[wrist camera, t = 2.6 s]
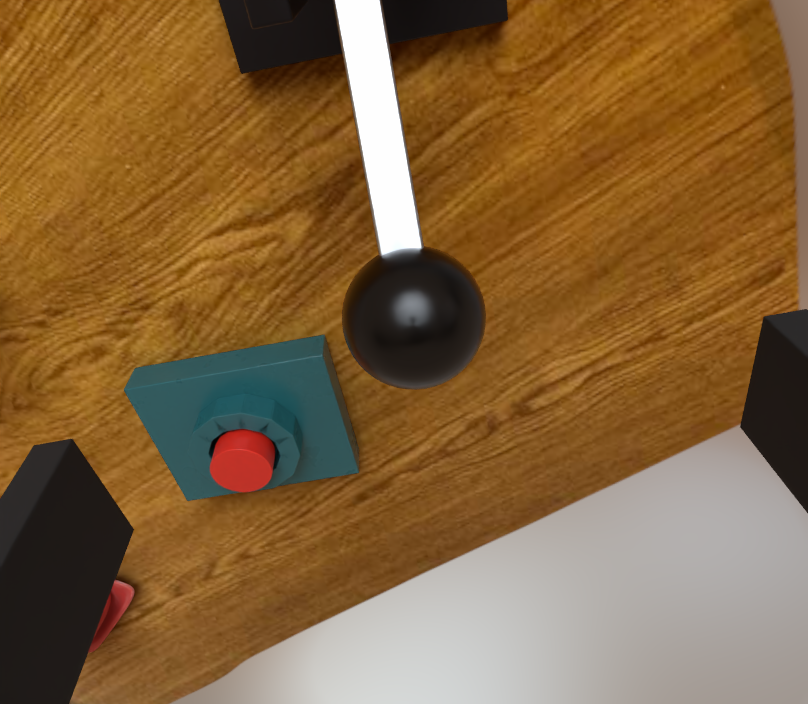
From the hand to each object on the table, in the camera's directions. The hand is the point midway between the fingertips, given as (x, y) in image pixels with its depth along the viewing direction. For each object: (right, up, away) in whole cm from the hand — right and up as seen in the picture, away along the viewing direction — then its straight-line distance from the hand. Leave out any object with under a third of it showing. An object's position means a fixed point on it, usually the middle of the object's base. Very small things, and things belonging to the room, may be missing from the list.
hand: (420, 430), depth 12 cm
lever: (-1, +7, +4) cm, 9 cm away
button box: (-10, -2, +28) cm, 30 cm away
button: (-10, -5, +25) cm, 27 cm away
